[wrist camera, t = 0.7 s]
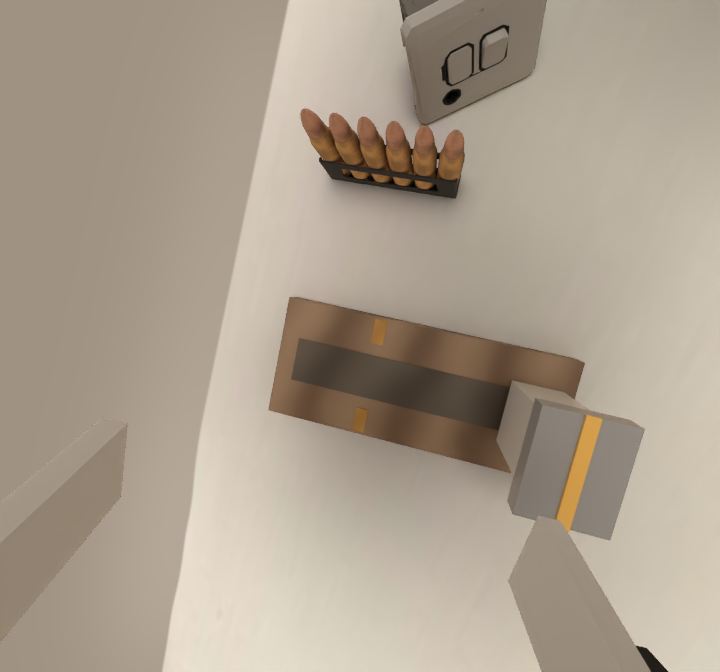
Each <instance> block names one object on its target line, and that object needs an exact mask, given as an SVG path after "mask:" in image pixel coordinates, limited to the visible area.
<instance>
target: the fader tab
mask: <svg viewBox="0 0 720 672" xmlns="http://www.w3.org/2000/svg"><path fill="white" fill-rule="evenodd" d="M643 433H644V428H642V427H640V426H639V425H637V424H636V423H634V422H632V421H631V420H628V419H623V418H619V417H615V416H611V415H606V414H602V413H598V412H594V411H590V410H588V409H587V408H586V407H584V406H583V405H581V404H580V403H579V402H577V401H576V400H575V399H573V398H572V397H570V396H569V395H568V394H566V393H565V392H561V391H557V390H552V389H548V388H544V387H540V386H535V385H531V384H527V383H522V382H518V381H514V380H512V382H511V386H510V390H509V394H508V397H507V401H506V405H505V409H504V413H503V416H502V420H501V424H500V428H499V432H498V435H497V439H496V441H497V443H498V445H499V447H500V449H501V451H502V454H503V456H504V458H505V460H506V462H507V464H508V466H509V468H510V471H511V473H512V475H513V477H514V478H513V482H512V485H511V489H510V493H509V496H508V500H507V501H508V503H509V506H510V508H511V511H512V514H514V515H518V516H521V517H525V518H529V519H532V520H537V517H538V516H541V517H546V518H550V519H555V520H559V521H561V522H562V524H563V525H564V527H565V529H566V530H567V532H569V531H570V530H573V531H577V532H580V533H584V534H588V535H591V536H595V537H599V538H603V539H606V540H610V539H611V536H612V533H613V529H614V526H615V523H616V520H617V516H618V513H619V510H620V507H621V504H622V500H623V497H624V494H625V491H626V487H627V484H628V481H629V478H630V475H631V471H632V468H633V465H634V462H635V458H636V455H637V452H638V449H639V446H640V442H641V439H642V436H643Z"/></svg>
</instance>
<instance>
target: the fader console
mask: <svg viewBox="0 0 720 672" xmlns="http://www.w3.org/2000/svg"><path fill="white" fill-rule="evenodd" d="M584 364H585V363H584V362H581V361H579V360H577V359H574V358H569V357H565V356H560V355H556V354H551V353H547V352H542V351H538V350H533V349H529V348H524V347H520V346H515V345H511V344H506V343H501V342H497V341H492V340H488V339H483V338H479V337H474V336H470V335H465V334H461V333H456V332H452V331H447V330H443V329H438V328H434V327H429V326H425V325H420V324H416V323H411V322H407V321H402V320H398V319H393V318H389V317H384V316H380V315H375V314H371V313H366V312H362V311H357V310H353V309H348V308H344V307H339V306H334V305H330V304H325V303H321V302H316V301H312V300H307V299H303V298H298V297H290V298H289V303H288V308H287V314H286V319H285V324H284V330H283V335H282V341H281V346H280V351H279V357H278V362H277V367H276V373H275V378H274V383H273V389H272V394H271V399H270V405H269V410H270V411H274V412H278V413H282V414H285V415H289V416H293V417H297V418H301V419H305V420H309V421H312V422H316V423H320V424H324V425H328V426H332V427H336V428H339V429H343V430H347V431H351V432H355V433H359V434H363V435H366V436H370V437H374V438H378V439H382V440H386V441H390V442H393V443H397V444H401V445H405V446H409V447H413V448H417V449H420V450H424V451H428V452H432V453H436V454H440V455H444V456H447V457H451V458H455V459H459V460H463V461H467V462H471V463H474V464H478V465H482V466H486V467H490V468H494V469H498V470H501V471H505V472H509V473H511V471H510V468H509V466H508V464H507V462H506V460H505V458H504V456H503V454H502V451H501V449H500V447H499V445H498V443H497V441H496V439H497V435H498V432H499V428H500V424H501V420H502V416H503V413H504V409H505V405H506V401H507V397H508V394H509V390H510V386H511V382H512V380H514V381H518V382H522V383H527V384H531V385H535V386H540V387H544V388H548V389H552V390H557V391H561V392H565V393H566V394H568V395H569V396H570V397H572V398H573V399H575V395H576V392H577V388H578V385H579V381H580V378H581V374H582V371H583V367H584Z"/></svg>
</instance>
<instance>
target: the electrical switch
mask: <svg viewBox="0 0 720 672" xmlns="http://www.w3.org/2000/svg"><path fill="white" fill-rule="evenodd" d="M399 1H400V7H401V12H402V18H403V25H402V27H401V29H400V30H401V35H402V41H403V46H404V47H406V51H407V56H408V61H409V67H410V72H411V78H412V83H413V89H414V94H415V99H416V105H415V109H416V114H417V116H418V118H419V120H420V122H421V123H424V124H428V123H431V122H433V121H435V120H437V119H439V118H441V117H443V116H445V115H447V114H449V113H452V112H454V111H456V110H458V109H460V108H462V107H464V106H466V105H468V104H470V103H472V102H475V101H477V100H479V99H481V98H483V97H485V96H487V95H489V94H491V93H493V92H496V91H498V90H500V89H502V88H504V87H506V86H508V85H510V84H512V83H514V82H516V81H519V80H521V79H523V78H525V77H527V76H528V75H529V74H530V73H531V72H532V71H533V69H534V68H535V62H536V56H537V51H538V45H539V40H540V34H541V29H542V23H543V18H544V12H545V7H546V2H547V0H399ZM402 1H403V2H402ZM403 3H404V4H403Z"/></svg>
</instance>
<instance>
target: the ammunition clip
mask: <svg viewBox="0 0 720 672" xmlns="http://www.w3.org/2000/svg"><path fill="white" fill-rule="evenodd" d="M301 121H302V124H303V127H304V129H305V131H306V132H307V134H308V136H309V138H310V141H311V144H312V146H313V147H314V148H315V150H316V151H317V152H318V153H319V155H320V156H321V157H322V158H321V157H320V158H319V162H320V163H321V165H322V166H323V167H324V169H325V170H326V171H327V173H328V174H329V176H330V177H331V178H332V179H337V180H343V181H349V182H355V183H362V184H368V185H374V186H380V187H387V188H393V189H399V190H405V191H411V192H418V193H424V194H430V195H436V196H443V197H449V198H456V196H457V191H458V186H459V182H460V177H461V170H462V167H463V163H464V156H465V154H464V138H463V135H462V133H461V132H460V131H459V130H454V131H452V132H451V133H450V134H449V135H448V137H447V139H446V141H445V144H444V147H443V149H442V151H441V153H437V149H436V146H435V142H434V136H433V133H432V131H431V129H430V128H429V127H428V126H425V125H424V126H422V127H420V128H419V130H418V131H417V134H416V137H415V145H414V149H410V145H409V142H408V141H407V140H406V137H405V133H404V131H403V128H402V127H401V126H400V124H399V123H397V122H396V121H391V122H390V123H389V124H388V126H387V129H386V145H385V144H384V141H383V138H382V137H381V136H380V135H379V133H378V131H377V130H376V127H375V125H374V124H373V123H372V121H371V120H370V119H368V118H366V117H361V118H360V119H359V121H358V125H357V131H358V136H359V138H358V136H357V134H356V133H355V132H354V131H353V130H352V129H351V127H350V126H349V124H348V123H347V121H346V120H345V119H344V118H343V117H342V116H341V115H339V114H337V113H332V114H331V115H330V117H329V127H330V128H329V127H327V126H326V125H325V124H324V123H323V122H322V120H321V119H320V118H319V117H318V116H317V115H316V114H315V113H314V112H312V111H311V110H309V109H303V110H302V111H301ZM411 155H412V157H411ZM412 158H413V164H412ZM322 159H323V160H324V161H323V160H322ZM437 159H439V164H438V168H436V165H437Z"/></svg>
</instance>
